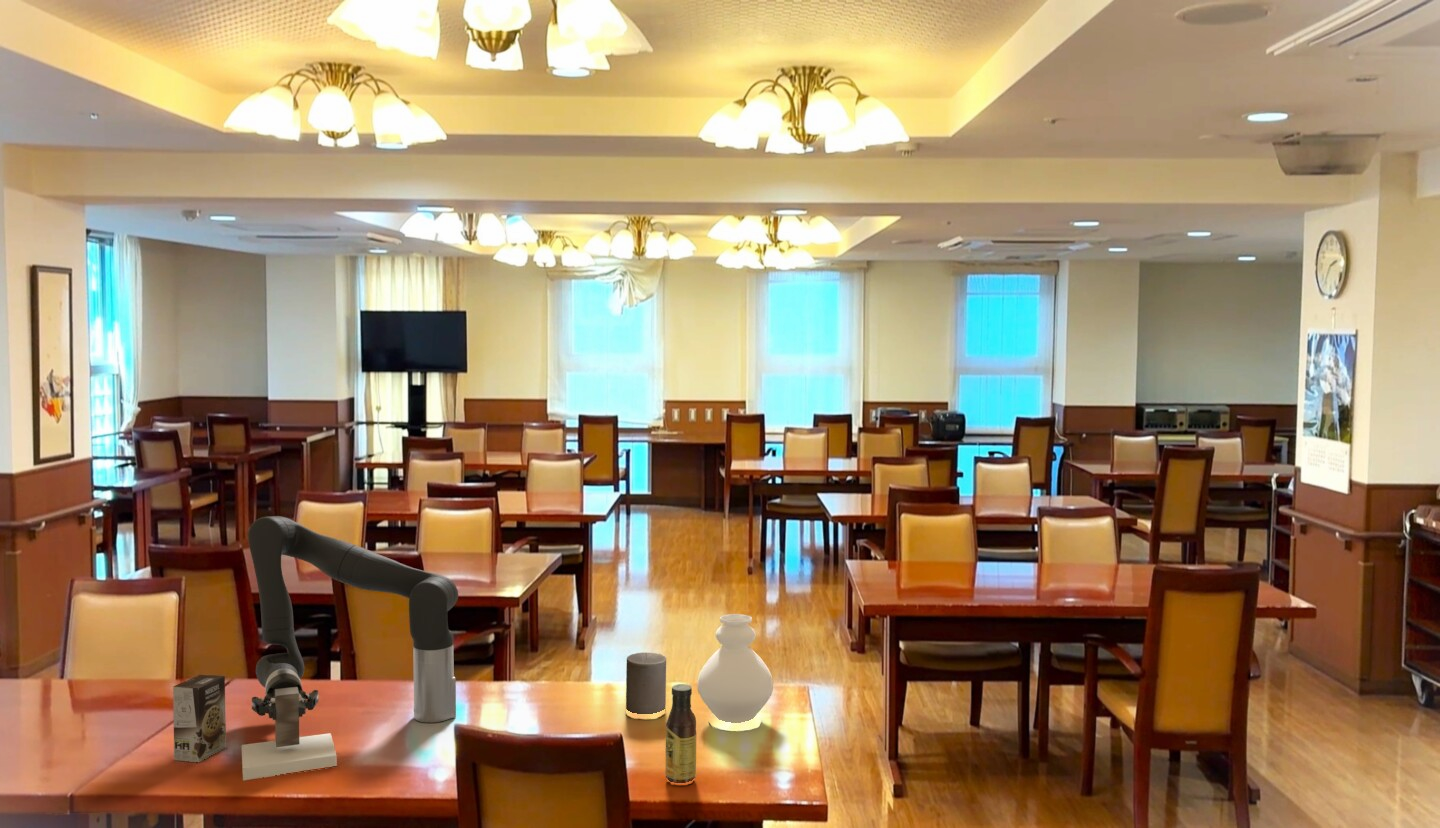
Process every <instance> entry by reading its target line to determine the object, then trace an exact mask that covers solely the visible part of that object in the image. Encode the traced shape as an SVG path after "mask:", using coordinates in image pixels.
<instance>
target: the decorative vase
mask: <svg viewBox="0 0 1440 828" xmlns="http://www.w3.org/2000/svg"><path fill="white" fill-rule="evenodd" d="M719 622H720V623H721V624H722V625H720V627H718V628H717V630H716V632H715V638H716V640H717V642H718V643H719V644H720V645H721V646H720V647H719V648H718V649H717V651H715V652H714V653H713V654H712V655H711V656H710V657H709V658H708V660H707V661H706V662H705V663H704V665H703V667H702V668H701V670H700V672H699V674H698V677H697V678H698V679H697V684H696V685H697V692H698V695H699V696H700V698H701V700H702V701H703V703H704V704H705V705H706V706H707V708H708V709H709V710H710V711H711V713H712V715H715V716H716V717H717V718H718V719H719V720H722V721H725V722H731V723H741V722H745V721H749V720H751V719H753V718H754V717H755V716H756V715H757V716H758V713H759V712H760V711H761V710H762V709H763V707H765V705H766V704H767V702H768V701H769V699H771V696H772V694H773V691H774V679H773V676H772V673H771V671H770V670H769V668H768V666H767V665H766V663H765V662H764V660H763V659H762V658H761V657H760V656H759V655H758V654H757V653H756V652H755V651H754V649H752V647H750V645H752V643H753V642H755V639H756V638H757V634H756V631H755V629H754V628H753V627H752V626H750V624H751V623H752V622H753V617H752V616H751V615H747V614H741V613H729V614H724V615H723V614H722V615H721V616H720V617H719Z"/></svg>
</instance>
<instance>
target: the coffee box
mask: <svg viewBox="0 0 1440 828" xmlns="http://www.w3.org/2000/svg"><path fill="white" fill-rule="evenodd" d="M225 677H226V676H224V675H216V674H215V675H214V674H213V675H211V674H198V675H197V676H194V677H193V678H189V679H187V680H185V681H183V682H181V683H178V684H175V685H174V686H172V690H173V691H172V694H173V695H172V697H173V699H172V701H173V702H172V703H173V704H172V705H173V707H172V708H173V713H172V714H173V717H172V718H173V760H174V761H181V762H188V761H189V762H188V763H196V762H198V763H201V762H203V761H205V760H206V759H208V758H210V757H212V756H213V754H214V755H216V754H218V753H219V752H221V751H222V749H223V750H225V749H226V748H227V731H226V729H227V726H226V725H227V724H226V722H227V721H226V717H227V716H226V678H225ZM224 748H225V749H224ZM215 753H216V754H215ZM211 755H212V756H211ZM209 756H210V757H209ZM204 759H205V760H204Z"/></svg>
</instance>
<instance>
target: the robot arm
mask: <svg viewBox="0 0 1440 828" xmlns="http://www.w3.org/2000/svg"><path fill="white" fill-rule="evenodd" d="M247 540H248V546H249V551H250V555H251V559H252V563H253V568H254V573H255V578H256V583H257V588H258V594H259V602H260V615H261V616H260V617H261V618H260V619H261V622H260V623H261V634H262V635H261V636H262V641H263V642H264V644H268V645H278V646H279V645H280V646H283V647H284V648H285V649H286V652H282V653H274V654H267V655H263V656H261V658H259V660H257V663H256V666H255V675H256V678H257V680H258V683H259V684H260V685H261V686H262V687H263V688H264V694H265V696H264V697H263V698H262V697H258V696H252V697H251V710H252V711H254V713H256V714H257V715H258V716H259V717H260V716H261V717H262V716H263V717H264V716H266V714H268V718H269V719H272V721H275V720H276V706H275V689H282V688H291V687H298V691H299V718H303V715H306V710H308V711H312V710H314V708H315V707H316V706H317V705H318V703H319V690H317V689H314V690H312V691H310V692H309V693H306V691H304V689H303V685H302V681H301V678H303V676H304V673H305V670H306V669H305V663H304V659H303V657H302V654H301V652H300V650H299V649H300V648H299V647H298V643H297V640H296V636H295V628H294V626H295V625H294V611H293V609H294V608H293V605H292V600H291V597H290V594H289V591H288V588H287V585H286V583H285V580H284V576H283V571H282V556H285V557H286V556H288V557H291V558H293V559H298V560H301V561H303V562H307V563H308V564H311V565H312V566H314V567H315V568H316V569H318V570H320V571H321V572H322V573H324V574H325V575H326V576H328V577H330V578H332V579H333V580H335V581H338V582H340V583H343V584H345V585H348V586H350V587H353V588H356V589H360V590H364V591H371V592H380V593H389V594H394V595H399V596H401V597H405V598H407V599H408V614H409V615H408V619H409V621H408V622H409V632H410V636H411V638H412V645H413V646H412V647H413V648H412V649H413V652H412V653H413V658H412V659H413V662H412V663H413V718H414V720H416V721H417V722H420V723H421V722H422V723H439V722H444V721H447V720H450V719H454V718H456V717H457V689H456V688H457V686H456V684H457V683H456V682H457V681H456V680H457V679H456V676H455V674H454V669H455V667H454V665H455V664H454V661H455V660H454V633H453V632H452V631H451V630H450V629H449V623H448V622H449V621H448V612H449V611H450V610H452V608H453V607H454V606H455V605H456V603H457V602H458V600H459V590H458V588H457V586H456V584H455V583H454V581H452V580H451V579H450V578H448V577H447V576H444V575H442V574H437V573H434V572H430V571H427V570H421V569H418V568H414V567H412V566H409V565H406V564H404V563H400V562H399V561H397V560H394V559H391V558H388V557H386V556H384V555H381V554H379V553H376V552H374V551H372V550H369V549H367V548H364V547H362V546H359V545H356V544H353V543H351V542H347V541H345V540H341V539H337V538H334V537H330V536H327V535H324V534H321V533H319V532H316V531H314V530H312V529H309V528H308V527H306V526H304V525H302V524H300V523H298V522H296V521H294V520H292V519H291V518H288V517H286V516H285V517H284V516H281V515H274V516H273V515H272V516H262V517H260V518H258V519H257V518H256V519H255V520H254V521H253V522H252V523H251V525H250V527H249V528H248V533H247Z"/></svg>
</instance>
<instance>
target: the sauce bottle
mask: <svg viewBox="0 0 1440 828" xmlns="http://www.w3.org/2000/svg"><path fill="white" fill-rule="evenodd" d="M692 691H693V690H692V686H691V685H689V684H687V683H686V684H685V683H678V684H675V685H673V686H672V687H671V695H672V704H671V709H670V712H669V714H668V717H667V720H666V723H665V779H666V778H667V779H668V780H669V781H670V782H674V783H686V782H689V781H692V780H693V779H694V778H695V779H696V775H697V718H696V715H695V713H694V712H693V710H692V703H691V700H692V699H691V698H692V693H693V692H692Z"/></svg>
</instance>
